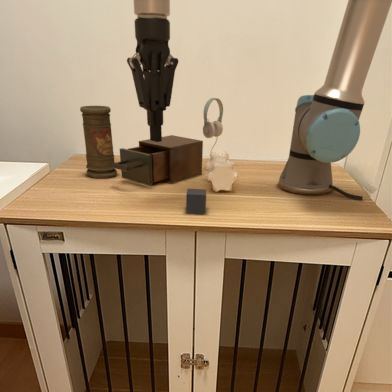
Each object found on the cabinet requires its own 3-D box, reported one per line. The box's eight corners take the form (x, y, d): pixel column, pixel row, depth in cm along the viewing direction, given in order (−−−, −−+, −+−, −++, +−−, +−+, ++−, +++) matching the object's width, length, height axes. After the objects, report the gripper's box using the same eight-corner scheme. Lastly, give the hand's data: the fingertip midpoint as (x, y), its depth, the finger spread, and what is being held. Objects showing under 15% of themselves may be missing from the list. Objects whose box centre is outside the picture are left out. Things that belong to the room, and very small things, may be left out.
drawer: (133, 190, 110) (131, 158, 105) (105, 181, 116) (102, 151, 111) (181, 176, 122) (181, 148, 118) (153, 169, 128) (152, 142, 123)
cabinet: (170, 183, 119) (170, 147, 114) (140, 175, 125) (138, 141, 120) (201, 174, 128) (203, 140, 123) (172, 167, 135) (171, 135, 129)
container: (80, 175, 123) (71, 107, 113) (99, 169, 130) (92, 104, 119) (104, 180, 120) (97, 109, 109) (123, 173, 126) (117, 106, 116)
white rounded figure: (237, 193, 113) (240, 162, 108) (206, 193, 113) (207, 161, 108) (232, 179, 125) (234, 150, 120) (203, 178, 125) (204, 149, 120)
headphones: (214, 165, 138) (217, 96, 126) (223, 167, 136) (227, 97, 124) (198, 170, 133) (200, 98, 121) (207, 172, 131) (210, 99, 119)
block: (205, 208, 102) (206, 189, 99) (205, 214, 99) (205, 194, 96) (187, 207, 102) (187, 188, 100) (186, 213, 99) (186, 194, 96)
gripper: (164, 19, 92) (166, 135, 106) (116, 16, 85) (125, 141, 99) (186, 19, 88) (185, 140, 102) (137, 15, 81) (143, 146, 95)
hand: (155, 140), depth 101 cm, fingers closed
